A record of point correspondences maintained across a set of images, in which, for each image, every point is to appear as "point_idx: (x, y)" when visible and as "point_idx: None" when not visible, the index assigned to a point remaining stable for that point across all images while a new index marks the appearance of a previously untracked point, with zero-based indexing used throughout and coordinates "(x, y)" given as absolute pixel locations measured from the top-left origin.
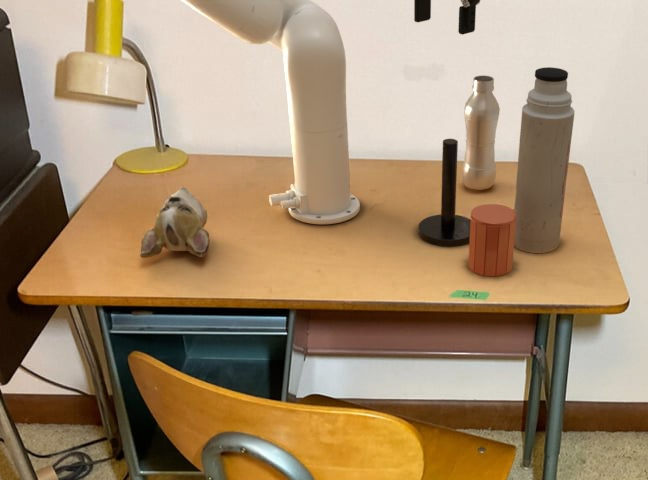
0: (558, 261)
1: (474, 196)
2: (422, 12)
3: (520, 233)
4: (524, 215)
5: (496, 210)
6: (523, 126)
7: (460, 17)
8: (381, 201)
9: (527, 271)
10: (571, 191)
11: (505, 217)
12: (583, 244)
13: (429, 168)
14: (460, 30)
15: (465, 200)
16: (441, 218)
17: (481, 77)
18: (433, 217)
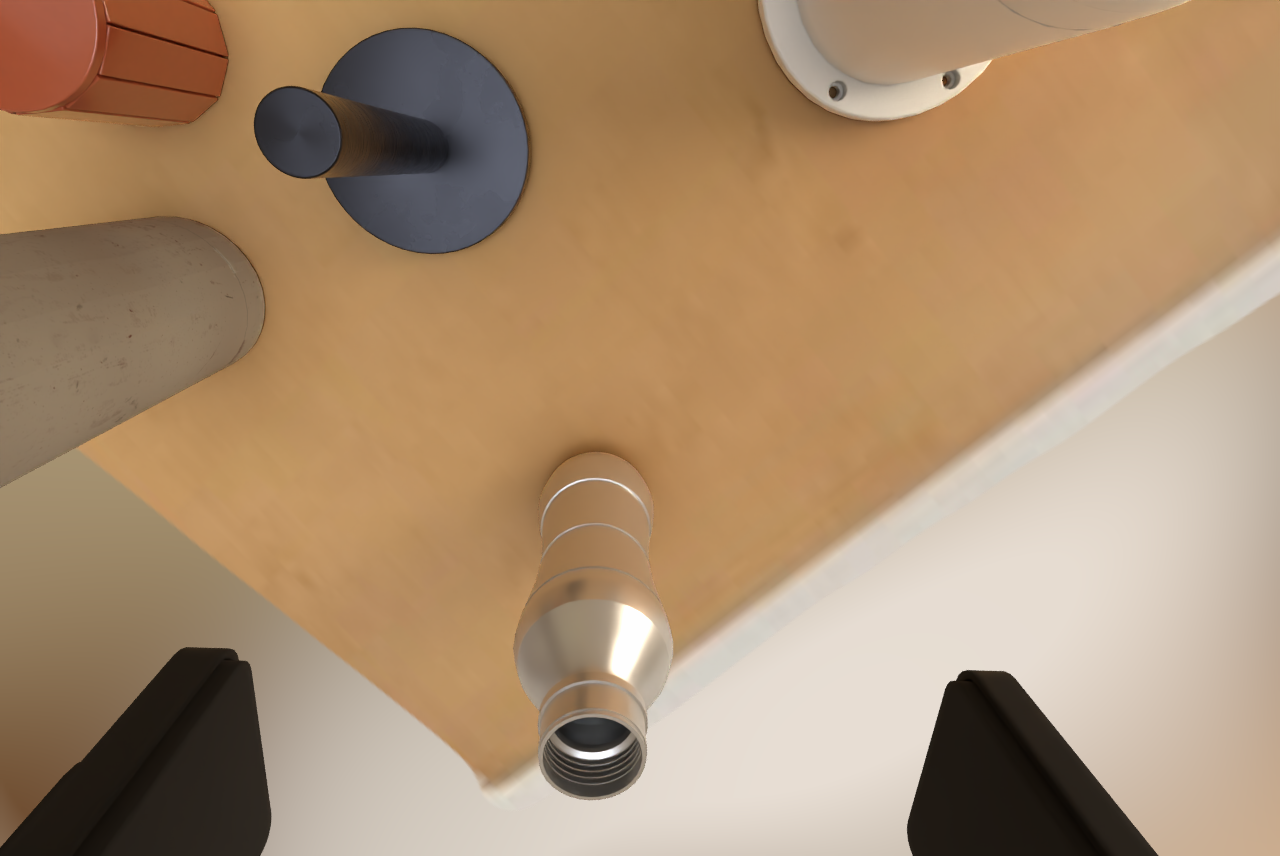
0: None
1: (559, 432)
2: (982, 815)
3: (145, 221)
4: (84, 226)
5: (6, 37)
6: None
7: (63, 806)
8: (769, 190)
9: None
10: (374, 644)
11: None
12: None
13: (806, 498)
14: (173, 666)
15: (560, 390)
16: (424, 120)
17: (631, 773)
18: (510, 171)
